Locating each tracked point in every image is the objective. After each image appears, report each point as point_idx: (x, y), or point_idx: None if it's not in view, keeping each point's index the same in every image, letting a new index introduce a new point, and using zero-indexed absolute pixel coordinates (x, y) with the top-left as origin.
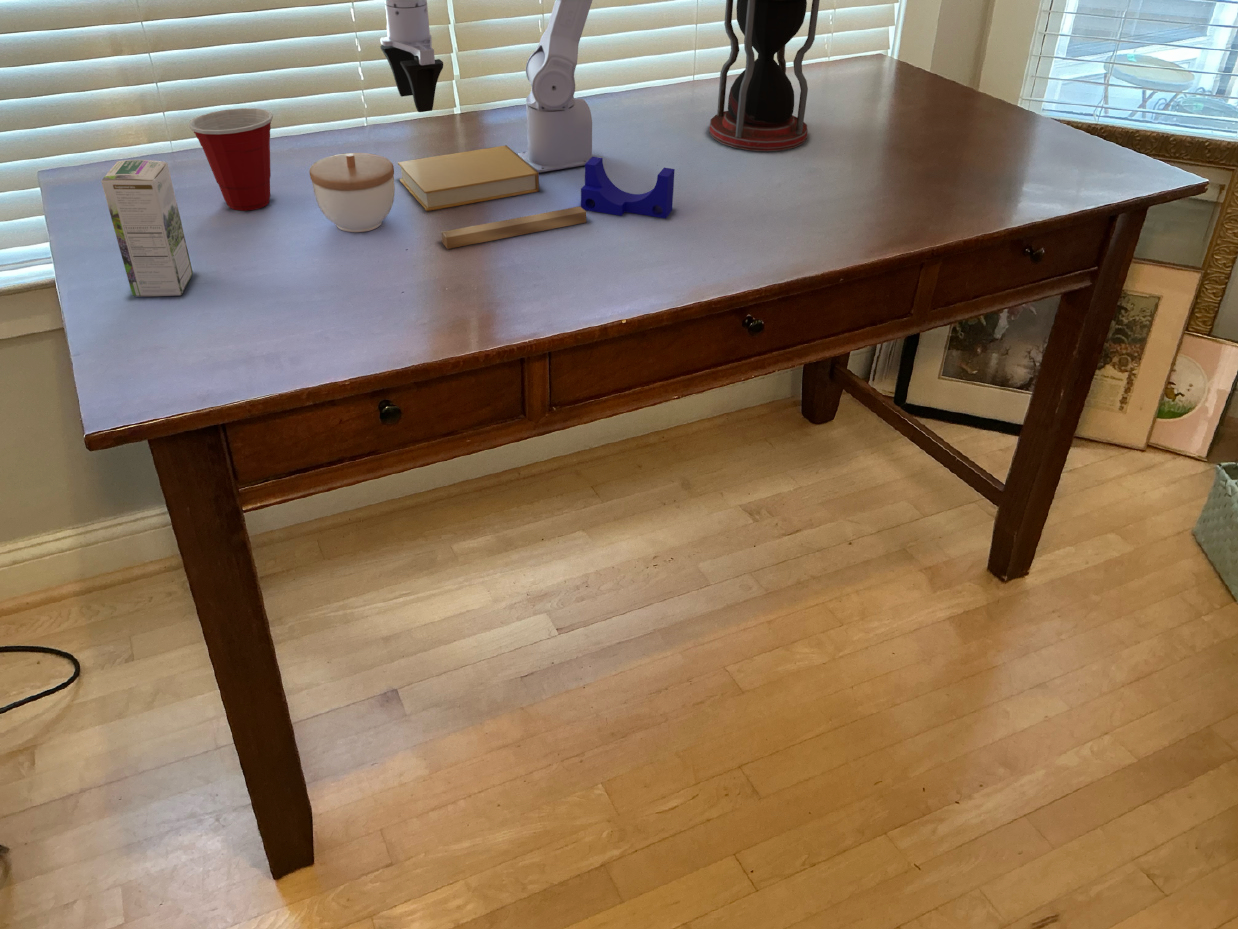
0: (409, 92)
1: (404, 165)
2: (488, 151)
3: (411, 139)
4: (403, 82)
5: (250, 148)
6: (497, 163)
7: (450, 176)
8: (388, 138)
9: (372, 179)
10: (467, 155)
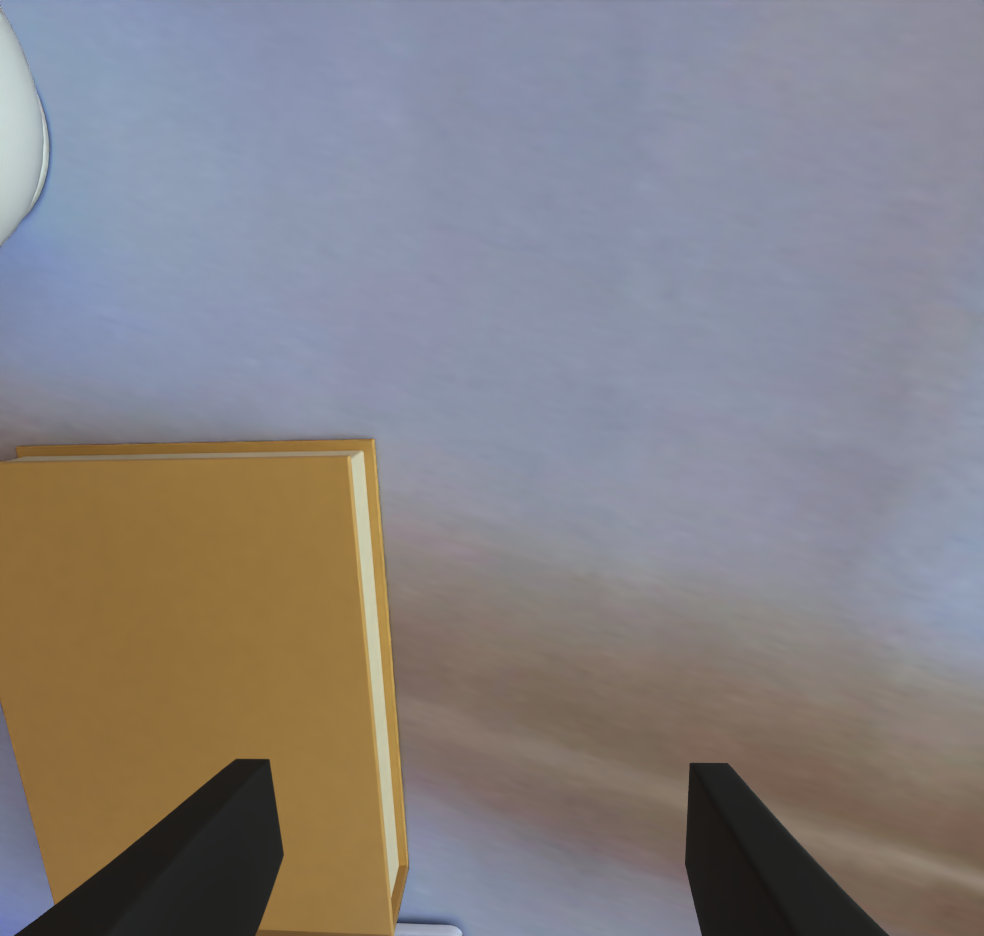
0: (694, 849)
1: (287, 474)
2: (343, 859)
3: (855, 636)
4: (739, 908)
5: None
6: None
7: (96, 624)
8: (929, 545)
9: None
10: (324, 770)
